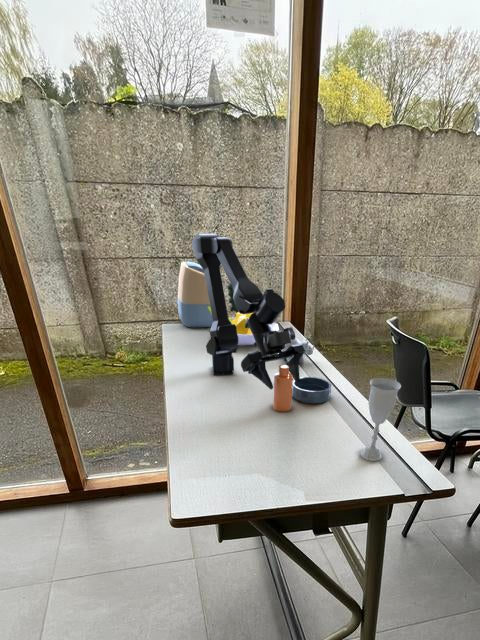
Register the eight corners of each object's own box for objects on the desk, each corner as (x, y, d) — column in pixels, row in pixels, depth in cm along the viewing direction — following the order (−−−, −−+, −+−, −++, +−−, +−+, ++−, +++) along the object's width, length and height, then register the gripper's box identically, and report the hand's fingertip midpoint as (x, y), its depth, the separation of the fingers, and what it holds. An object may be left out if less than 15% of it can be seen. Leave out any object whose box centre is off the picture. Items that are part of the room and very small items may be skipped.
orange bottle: (274, 411, 123) (276, 369, 115) (271, 404, 127) (272, 363, 119) (292, 411, 124) (295, 369, 117) (288, 403, 128) (291, 362, 120)
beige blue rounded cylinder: (221, 328, 187) (219, 267, 173) (181, 329, 183) (176, 266, 168) (215, 318, 199) (212, 260, 185) (178, 318, 195) (172, 259, 181)
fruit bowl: (290, 340, 179) (292, 310, 172) (251, 355, 160) (251, 323, 153) (236, 326, 190) (236, 298, 183) (194, 340, 171) (192, 309, 164)
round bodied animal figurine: (314, 364, 156) (317, 340, 151) (281, 364, 155) (283, 339, 150) (311, 357, 162) (313, 334, 157) (279, 357, 160) (280, 333, 155)
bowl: (296, 405, 127) (297, 392, 125) (287, 389, 136) (288, 377, 134) (334, 403, 129) (336, 391, 127) (323, 388, 139) (325, 376, 136)
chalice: (354, 448, 108) (366, 377, 98) (380, 448, 109) (395, 378, 98) (360, 463, 103) (374, 390, 92) (388, 463, 103) (405, 390, 92)
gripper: (246, 320, 109) (270, 377, 109) (304, 313, 118) (326, 365, 118) (230, 344, 118) (253, 397, 118) (285, 335, 128) (306, 384, 128)
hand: (285, 385), depth 120 cm, fingers open, 9 cm apart
